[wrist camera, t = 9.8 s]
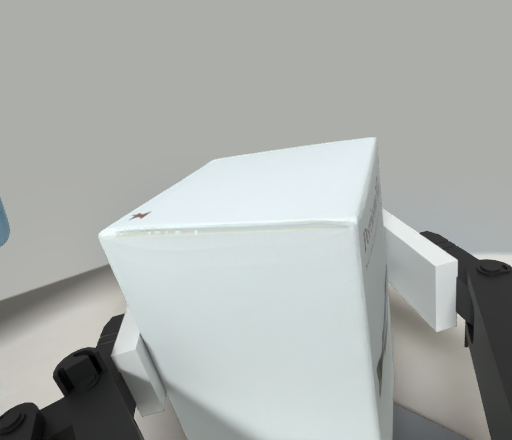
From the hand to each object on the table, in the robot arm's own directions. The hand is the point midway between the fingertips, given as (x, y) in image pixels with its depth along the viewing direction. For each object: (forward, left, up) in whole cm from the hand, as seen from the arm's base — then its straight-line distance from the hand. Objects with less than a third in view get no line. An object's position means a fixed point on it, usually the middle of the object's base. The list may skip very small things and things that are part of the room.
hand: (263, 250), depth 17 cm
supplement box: (+3, -3, -8) cm, 9 cm away
